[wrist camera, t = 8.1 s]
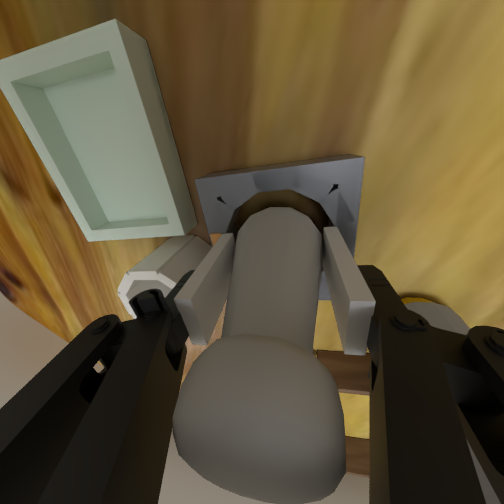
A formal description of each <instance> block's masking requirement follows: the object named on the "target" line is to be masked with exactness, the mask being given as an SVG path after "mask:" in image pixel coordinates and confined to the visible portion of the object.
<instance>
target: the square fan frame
mask: <svg viewBox="0 0 504 504" xmlns="http://www.w3.org/2000/svg"><path fill="white" fill-rule="evenodd" d="M364 160H365V157H363V156H358V155H353V154H347V155H339V156H332V157H325V158H318V159H310V160H303V161H296V162H288V163H281V164H274V165H266V166H259V167H252V168H245V169H237V170H230V171H223V172H215V173H210V174H207V175H205V176H202V177H199V178H197V179H194V180H195V184H196V188H197V191H198V195H199V199H200V203H201V207H202V211H203V214H204V218H205V222H206V226H207V230H208V234H209V238H210V241H211V245H212V247H213V246H214V245H215V243H216V242H217V240H218V239H219V238H220V236H221V235H222V234H228V233H233V236H234V241H235V245H236V240H237V235H238V232H237V227H236V222H235V221H236V218H237V215H238V213H239V210H240V207H241V205H242V204H243V203H245V202H246V201H247V200H249V199H250V198H251V197H253V196H254V195H255V194H256V193H258V192H268V191H277V190H286V189H291V190H293V191H295V192H298V193H300V194H302V195H304V196H306V197H308V198H311V199H313V200H315V201H317V202H319V203H320V204H321V205H322V207H323V208H324V210H325V212H326V213H327V215H328V227H337V228H338V230H339V232H340V234H341V236H342V237H343V239H344V241H345V243H346V245H347V247H348V249H349V251H350V253H351V255H352V257H353V259H354V252H355V243H356V233H357V224H358V215H359V206H360V197H361V187H362V178H363V169H364ZM318 300H331V297H330V293H329V289H328V285H327V281H326V277H325V273H324V269H323V264H322V272H321V281H320V289H319V298H318Z"/></svg>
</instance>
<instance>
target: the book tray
mask: <svg viewBox="0 0 504 504" xmlns="http://www.w3.org/2000/svg"><path fill="white" fill-rule="evenodd" d="M312 354H313V355H314V356H315V352H314V350H313V353H312ZM317 358H318V360H319V361H320V362H321V363H322V364H323V365H324V366H325V367H326V368H327V369H328V370H329V371H330V372H331V374H332V376H333V378H334V380H335V382H336V384H337V388H338V392H341V393H350V394H360V395H369V396H370V379H368V378H367V376H368V371H369V367H370V362H371V355H370V353H366V356H364V355H349V354H344V352H339V351H323V350H317ZM345 448H346V473H347V474H352V475H358V476H363V477H368V478H370V440H368V439H361V438H354V437H348V436H345Z"/></svg>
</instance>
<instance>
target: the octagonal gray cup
mask: <svg viewBox="0 0 504 504" xmlns="http://www.w3.org/2000/svg"><path fill="white" fill-rule="evenodd" d="M211 249H212V246H211V245H209V244H208V243H207V242H205V241H204V240H202V239H201V238H200V237H198V236H196V237H195V236H194V235H181V236H172V237H171V238H169V239H168V240H167V241H166V242H164V243H163V244H162V245H160V246H159V247H158V248H157V249H155V250H154V251H153V252H152V253H150V254H149V255H148V256H147V257H145V258H144V259H143V260H141V261H140V262H139V263H138V264H136V265H135V266H134V267H133V268H131V269H130V270H129V271H127V272H126V273H125V275H124V277H123V279H122V281H121V284H120V286H119V288H118V290H117V291H118V293H117V294H118V295H119V297H120V299H121V301H122V302H123V304H124V306H125V308H126V309H127V311H128V313H129V315H133V316H132V317H133V318H134V319H136V318H137V317H136V315H135V313H134V311H133V310H132V308H131V306H130V304H129V301H130V300H131V299H132V298H133V297H134V296H136V295H137V294H139V293H141V292H143V291H145V290H149V289H160V290H161V291H162V293H163V295H164V297H166V296H167V295H168V294H169V292H170V291H171V290H172V289H173V287H175V285H176V284H177V282H179V280H180V279H181V278H182V276H183V275H184V274H186V273H187V272H189V271H190V270H196V269H197V267H198V266H199V265H200V263H201V262H202V261H203V259H204V258H205V257H206V255H207V254H208V253H209V251H210V250H211Z"/></svg>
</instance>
